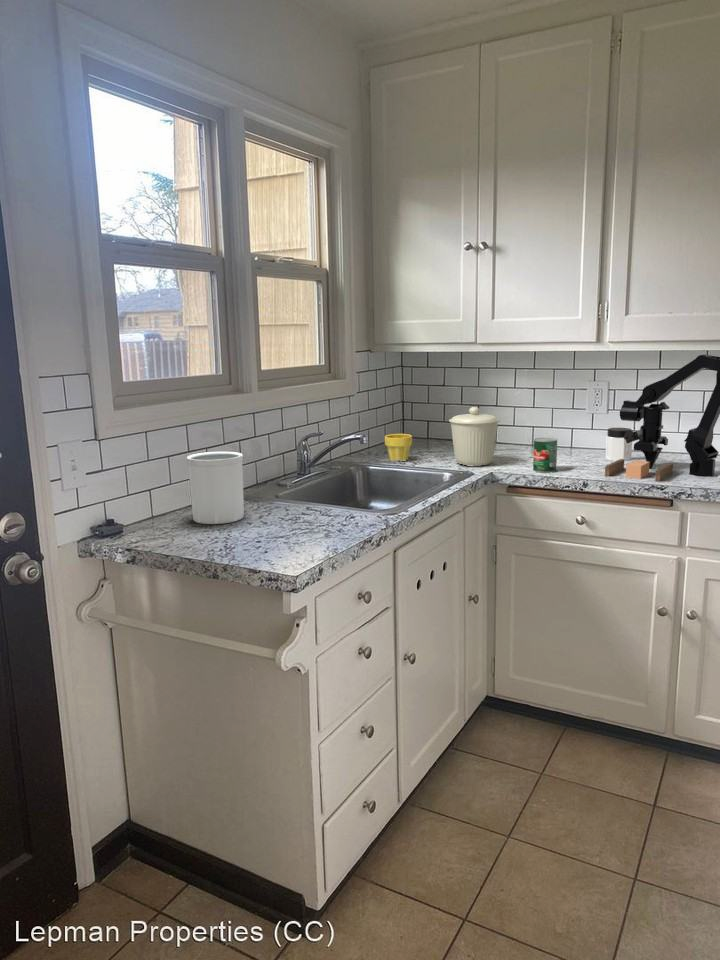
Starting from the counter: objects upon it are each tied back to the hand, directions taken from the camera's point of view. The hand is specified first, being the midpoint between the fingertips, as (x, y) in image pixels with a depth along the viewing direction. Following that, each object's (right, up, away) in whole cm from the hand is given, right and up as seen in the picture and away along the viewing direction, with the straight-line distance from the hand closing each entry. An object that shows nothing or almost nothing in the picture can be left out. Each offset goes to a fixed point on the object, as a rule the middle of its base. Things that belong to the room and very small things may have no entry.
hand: (649, 468), depth 243 cm
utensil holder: (-136, -14, -44) cm, 143 cm away
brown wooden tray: (-7, -3, -9) cm, 12 cm away
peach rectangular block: (-8, -2, -10) cm, 13 cm away
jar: (-3, +3, +20) cm, 20 cm away
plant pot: (-82, +3, +34) cm, 89 cm away
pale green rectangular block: (-3, -1, -3) cm, 4 cm away
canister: (-55, +2, +23) cm, 60 cm away
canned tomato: (-33, -1, +8) cm, 34 cm away
